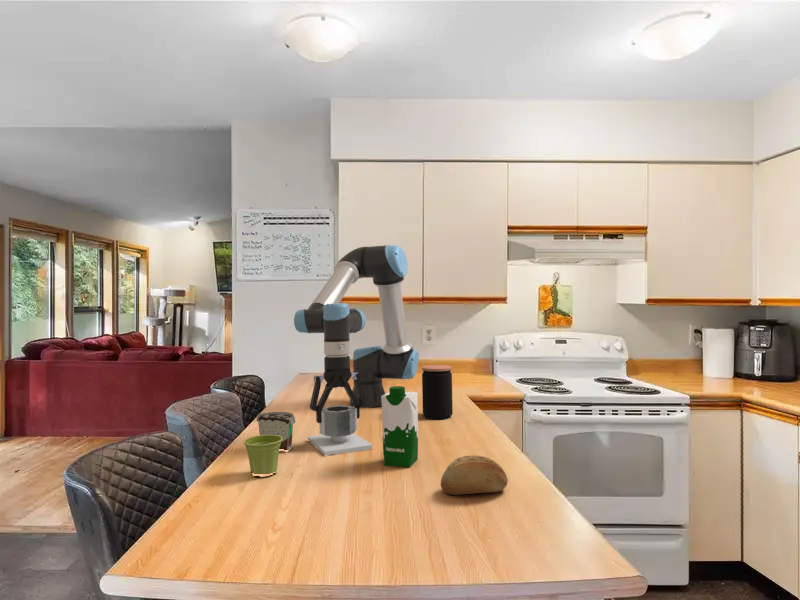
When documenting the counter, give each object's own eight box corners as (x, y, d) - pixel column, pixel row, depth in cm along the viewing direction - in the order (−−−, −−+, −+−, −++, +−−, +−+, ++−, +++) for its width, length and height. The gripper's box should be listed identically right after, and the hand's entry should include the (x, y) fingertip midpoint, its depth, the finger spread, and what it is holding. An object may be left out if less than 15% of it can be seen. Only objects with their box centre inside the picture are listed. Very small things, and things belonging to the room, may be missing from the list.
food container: (304, 447, 156) (303, 413, 156) (291, 453, 150) (291, 417, 150) (270, 443, 161) (269, 410, 161) (257, 448, 156) (256, 414, 155)
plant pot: (248, 483, 127) (247, 446, 126) (240, 472, 135) (240, 437, 135) (287, 476, 131) (286, 441, 131) (277, 466, 139) (277, 432, 139)
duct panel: (307, 440, 163) (306, 417, 163) (350, 434, 169) (350, 412, 169) (325, 456, 147) (324, 430, 147) (372, 449, 153) (371, 423, 153)
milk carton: (379, 466, 137) (377, 388, 137) (391, 456, 146) (390, 382, 146) (412, 469, 134) (410, 389, 134) (422, 458, 143) (420, 383, 143)
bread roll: (514, 498, 114) (514, 461, 114) (445, 503, 112) (445, 465, 112) (501, 483, 124) (500, 448, 124) (437, 487, 122) (436, 452, 122)
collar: (328, 438, 152) (327, 413, 152) (319, 430, 160) (318, 407, 160) (358, 433, 156) (358, 409, 156) (348, 427, 164) (347, 404, 164)
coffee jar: (452, 413, 197) (451, 364, 196) (452, 420, 186) (451, 368, 186) (423, 413, 198) (422, 364, 198) (421, 420, 187) (421, 368, 187)
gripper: (303, 359, 150) (305, 439, 150) (376, 354, 159) (377, 429, 159) (297, 356, 157) (298, 433, 157) (367, 352, 166) (368, 424, 166)
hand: (338, 431), depth 158 cm, fingers closed on collar, 9 cm apart
